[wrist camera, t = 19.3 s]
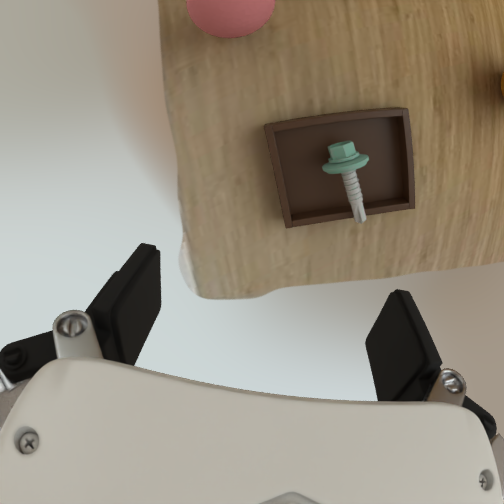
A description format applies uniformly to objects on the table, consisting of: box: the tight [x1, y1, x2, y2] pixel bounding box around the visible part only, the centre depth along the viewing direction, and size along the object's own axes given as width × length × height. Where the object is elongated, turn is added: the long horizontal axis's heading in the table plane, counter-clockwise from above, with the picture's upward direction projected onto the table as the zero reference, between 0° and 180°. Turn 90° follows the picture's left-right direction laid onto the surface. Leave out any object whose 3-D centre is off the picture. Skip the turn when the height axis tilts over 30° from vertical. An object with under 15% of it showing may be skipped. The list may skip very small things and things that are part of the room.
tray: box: [264, 107, 415, 228], centre depth 30 cm, size 16×12×3 cm
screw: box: [322, 141, 369, 223], centre depth 29 cm, size 9×5×5 cm, turn 21°
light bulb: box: [187, 0, 275, 38], centre depth 19 cm, size 7×7×12 cm
